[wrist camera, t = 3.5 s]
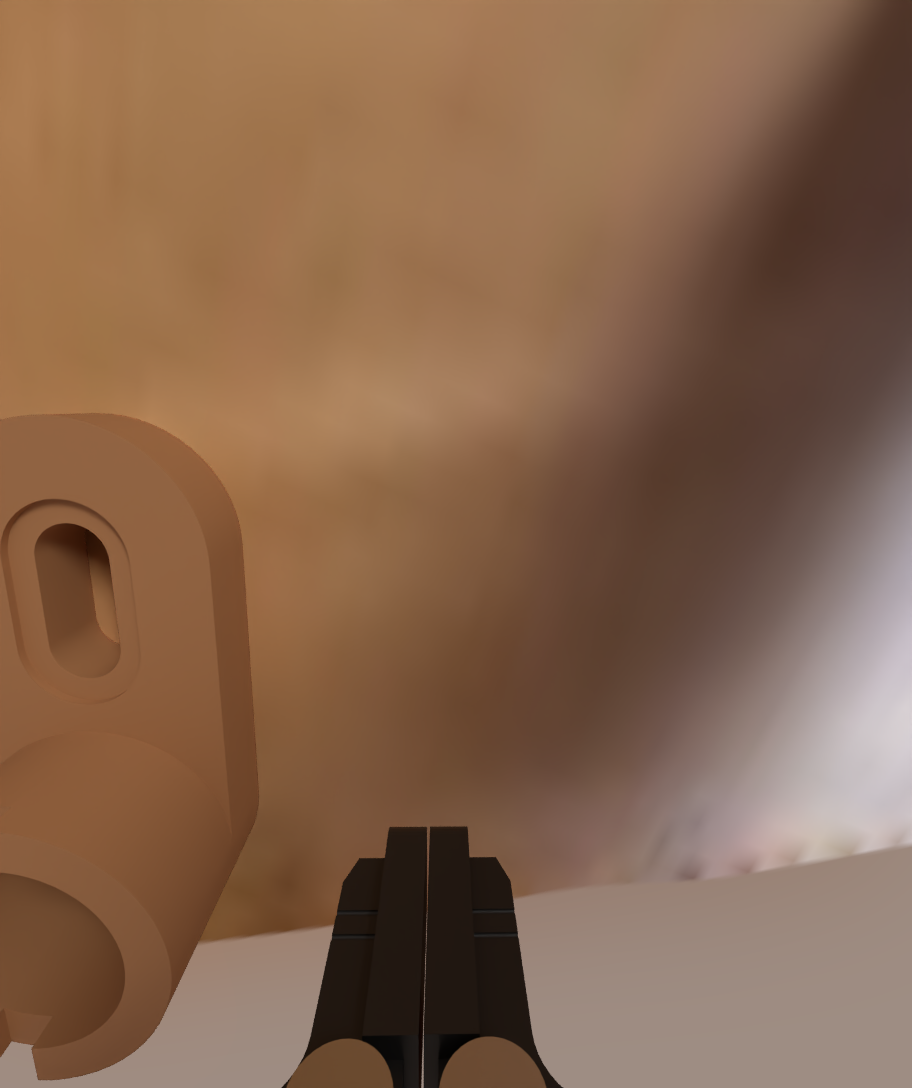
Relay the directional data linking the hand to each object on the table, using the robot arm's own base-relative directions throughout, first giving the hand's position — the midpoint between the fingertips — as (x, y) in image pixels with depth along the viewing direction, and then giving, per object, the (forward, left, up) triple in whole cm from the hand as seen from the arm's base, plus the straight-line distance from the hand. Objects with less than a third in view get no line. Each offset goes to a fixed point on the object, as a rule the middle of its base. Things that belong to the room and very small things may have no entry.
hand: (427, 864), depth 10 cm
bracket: (+11, +1, -10) cm, 15 cm away
